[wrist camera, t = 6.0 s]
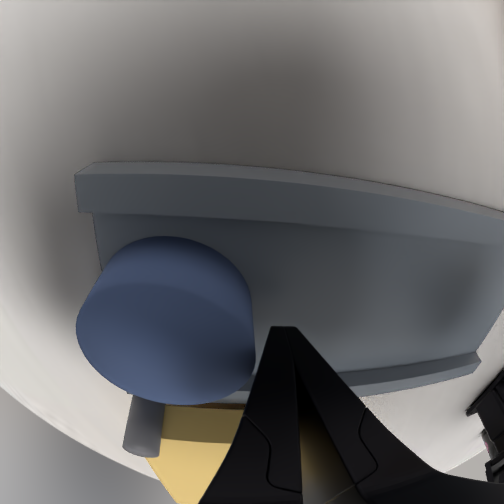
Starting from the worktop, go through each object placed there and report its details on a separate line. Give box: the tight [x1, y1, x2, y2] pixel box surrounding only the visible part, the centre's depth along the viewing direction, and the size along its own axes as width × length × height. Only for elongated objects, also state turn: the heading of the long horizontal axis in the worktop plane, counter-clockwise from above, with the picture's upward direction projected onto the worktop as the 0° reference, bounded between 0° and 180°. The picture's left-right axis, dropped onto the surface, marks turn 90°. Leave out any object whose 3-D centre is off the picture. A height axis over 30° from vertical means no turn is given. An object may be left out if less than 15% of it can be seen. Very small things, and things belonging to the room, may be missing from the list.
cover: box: [122, 395, 244, 504], centre depth 14 cm, size 17×9×2 cm, turn 174°
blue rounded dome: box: [76, 236, 256, 405], centre depth 8 cm, size 5×5×2 cm
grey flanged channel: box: [74, 162, 504, 404], centre depth 10 cm, size 18×9×1 cm, turn 84°
